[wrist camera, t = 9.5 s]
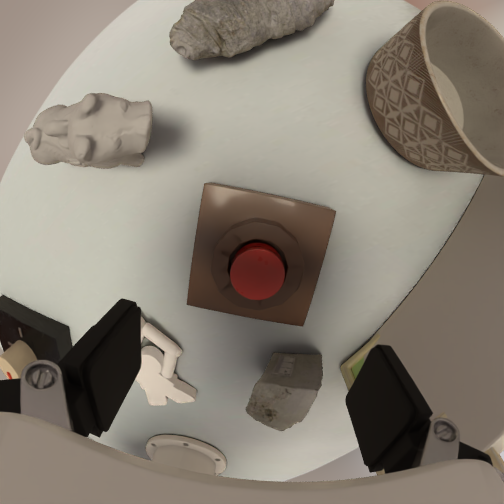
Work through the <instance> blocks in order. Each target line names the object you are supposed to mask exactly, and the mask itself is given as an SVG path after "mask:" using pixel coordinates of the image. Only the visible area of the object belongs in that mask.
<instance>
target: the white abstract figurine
mask: <svg viewBox="0 0 504 504" xmlns="http://www.w3.org/2000/svg"><path fill="white" fill-rule="evenodd" d="M144 336H145V337H146V338H148V339H149V340H150V341H151V342H153V343H154V344H155V345H157V346H158V347H159V348H161V349H162V350H164V351H165V354H164V355H163V354H162V352H161V351H160V350H159V349H158V348H156V347H154V346H145V347H143V348H142V350H141V357H142V364H141V369H140V371H139V373H138V375H137V377H136V378H135V380H136V381H137V382H140V385H141V388H142V389H145V392H146V395H147V399H148V402H149V404H150V405H152V406H156V405H166V404H167V400H168V398H170V399H172V400H174V401H175V402H177V403H187V402H194V401H195V399H196V393H197V390H196V389H195V388H193V387H192V386H190V385H188V384H187V383H185V382H183V381H180V380H179V379H177V377H178V375H176V374H175V373H174V369H175V365H176V361H177V357H179V356H181V354H182V350H181V348H179V346H178V345H177V344H176V343H175V342H173V341H172V340H171V339H169V338H168V337H167V336H165V335H164V334H163V333H161V332H160V331H159V330H158V329H156V328H155V327H154V326H152V325H151V324H150V323H146V322H145V320H144V319H143V317H142V316H141V343H142V341H143V339H144Z"/></svg>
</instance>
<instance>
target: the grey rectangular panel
mask: <svg viewBox="0 0 504 504" xmlns="http://www.w3.org/2000/svg"><path fill="white" fill-rule="evenodd" d="M377 334H379V335H380V338H379V339H378V341H377V342H376V343H375V344H374V345H373V347H372V348H374V347H375V346H376V345H378V344H380V345H390V346H391V347H392V348H393V350H394V351H395V353H396V354H397V356H398V357H399V359H400V360H401V362H402V364H403V365H404V367H405V368H406V370H407V371H408V373H409V374H410V376H411V378H412V379H413V381H414V382H415V384H416V386H417V387H418V389H419V390H420V392H421V394H422V395H423V397H424V399H425V400H426V402H427V404H428V405H429V407H430V409H431V410H432V412H433V414H432V416H431V417H430V418H429V419H430V421H432V420H434V419H435V418H436V417H437V416H438V415H440V414H441V413H442V412H445V414H446V415H447V419H449V420H451V421H452V422H453V423H454V424H455V425H456V426H457V427H458V429H459V432H460V442H463V443H465V444H467V445H469V446H471V447H473V448H476V449H478V450H480V451H482V452H485V451H486V450H487V449H489V448H490V447H493V448H494V449H495V451H496V452H497V453H498V454H500V453H501V452H502V451H503V450H504V177H502V176H494V175H484V178H483V180H482V182H481V184H480V186H479V188H478V189H477V191H476V193H475V195H474V197H473V199H472V201H471V203H470V204H469V206H468V208H467V210H466V211H465V213H464V215H463V217H462V218H461V220H460V222H459V223H458V225H457V227H456V228H455V230H454V232H453V233H452V235H451V236H450V238H449V239H448V241H447V243H446V244H445V246H444V247H443V249H442V250H441V252H440V253H439V254H438V256H437V257H436V259H435V260H434V262H433V263H432V264H431V266H430V267H429V269H428V270H427V271H426V273H425V274H424V276H423V277H422V278H421V280H420V281H419V282H418V283H417V285H416V286H415V287H414V289H413V290H412V291H411V292H410V294H409V295H408V296H407V297H406V299H405V300H404V301H403V302H402V304H401V305H400V306H399V307H398V308H397V310H396V311H395V312H394V313H393V314H392V315H391V317H390V318H389V319H388V320H387V321H386V322H385V323H384V325H383V326H382V327H381V328H380V329H379V330H378V331H377V332H376V333H375V335H377ZM375 335H374V336H375ZM374 336H373V337H374ZM373 337H372V338H373ZM370 350H371V349H370ZM370 350H369V351H370ZM369 351H368V352H367V353H366V354H365V355H364V362H365V360H366V357H367V355H368V353H369Z"/></svg>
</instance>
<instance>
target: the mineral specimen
mask: <svg viewBox="0 0 504 504" xmlns="http://www.w3.org/2000/svg"><path fill="white" fill-rule="evenodd" d="M322 369H323V367H322V355H320V354H319V355H308V354H286V353H275V352H274V353H273V355H272V357H271V359H270V362H269V364H268V365H267V368H266V370H265V372H264V374H263V375H262V377H261V378H260V379H259V380H258V382H257V383H256V384H255V386H254V388H253V392H252V395H251V398H250V399H249V403H248V406H247V407H246V412H247V413H248V414H249V415H250V416H251V417H253V418H254V419H255V420H256V421H259V422H261V423H262V424H264V425H267V426H269V427H271V428H274V429H277V430H279V431H284V430H285V429H287V428H290V427H292V426H293V425H294V424H296V423H297V422H301V421H302V420H303V419H304V418H305V417H306V415H307V413H308V411H309V409H310V407H311V405H312V404H313V402H314V400H315V399H316V397H317V393H318V390H319V389H320V387H321V386H322V384H321V380H322V376H323V371H322Z"/></svg>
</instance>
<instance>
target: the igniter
mask: <svg viewBox="0 0 504 504" xmlns="http://www.w3.org/2000/svg"><path fill="white" fill-rule="evenodd" d="M335 214H336V211H335V210H333V209H331V208H329V207H325V206H320V205H316V204H312V203H308V202H304V201H299V200H295V199H291V198H286V197H281V196H277V195H272V194H267V193H263V192H258V191H253V190H248V189H243V188H237V187H232V186H227V185H221V184H216V183H205V184H204V188H203V194H202V199H201V205H200V211H199V217H198V224H197V230H196V237H195V243H194V250H193V257H192V265H191V272H190V280H189V288H188V297H187V305H191V306H195V307H200V308H204V309H209V310H214V311H218V312H223V313H228V314H233V315H239V316H244V317H249V318H255V319H260V320H266V321H272V322H277V323H284V324H290V325H296V326H303V325H304V322H305V319H306V316H307V313H308V310H309V307H310V304H311V300H312V297H313V294H314V291H315V287H316V284H317V281H318V277H319V274H320V270H321V267H322V263H323V260H324V256H325V253H326V249H327V245H328V242H329V238H330V234H331V230H332V226H333V222H334V218H335ZM251 243H264V244H267V245H270V246H271V247H273V248H274V249H275V250H276V251H277V252H278V253H279V255H280V256H281V259H282V262H283V266H284V270H285V279H284V282H283V285H282V287H281V288H280V290H279V291H278V292H277V293H276V294H274V295H273V296H271V297H269V298H267V299H263V300H252V299H248V298H246V297H244V296H242V295H241V294H239V293H238V292H237V291H236V290H235V288H234V287H233V285H232V282H231V279H230V270H231V266H232V263H233V259H234V257H235V255H236V253H237V252H238V251H239V250H240V249H241V248H242V247H244V246H246V245H248V244H251Z"/></svg>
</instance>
